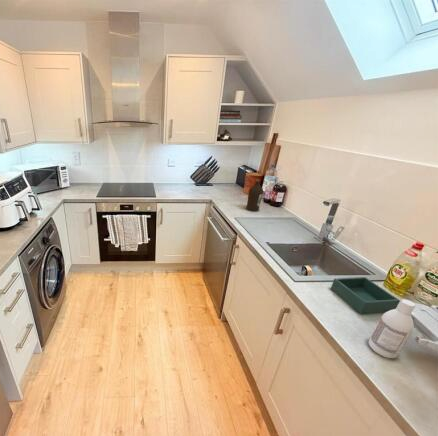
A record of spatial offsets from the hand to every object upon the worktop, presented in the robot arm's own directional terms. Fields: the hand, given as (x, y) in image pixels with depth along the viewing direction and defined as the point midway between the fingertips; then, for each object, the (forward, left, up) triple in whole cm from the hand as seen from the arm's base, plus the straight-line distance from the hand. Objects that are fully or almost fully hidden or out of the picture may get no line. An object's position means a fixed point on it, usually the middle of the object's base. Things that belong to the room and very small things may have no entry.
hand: (404, 327), depth 73 cm
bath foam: (+2, -1, -11) cm, 11 cm away
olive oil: (-18, -127, -11) cm, 129 cm away
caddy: (-12, -23, -11) cm, 28 cm away
